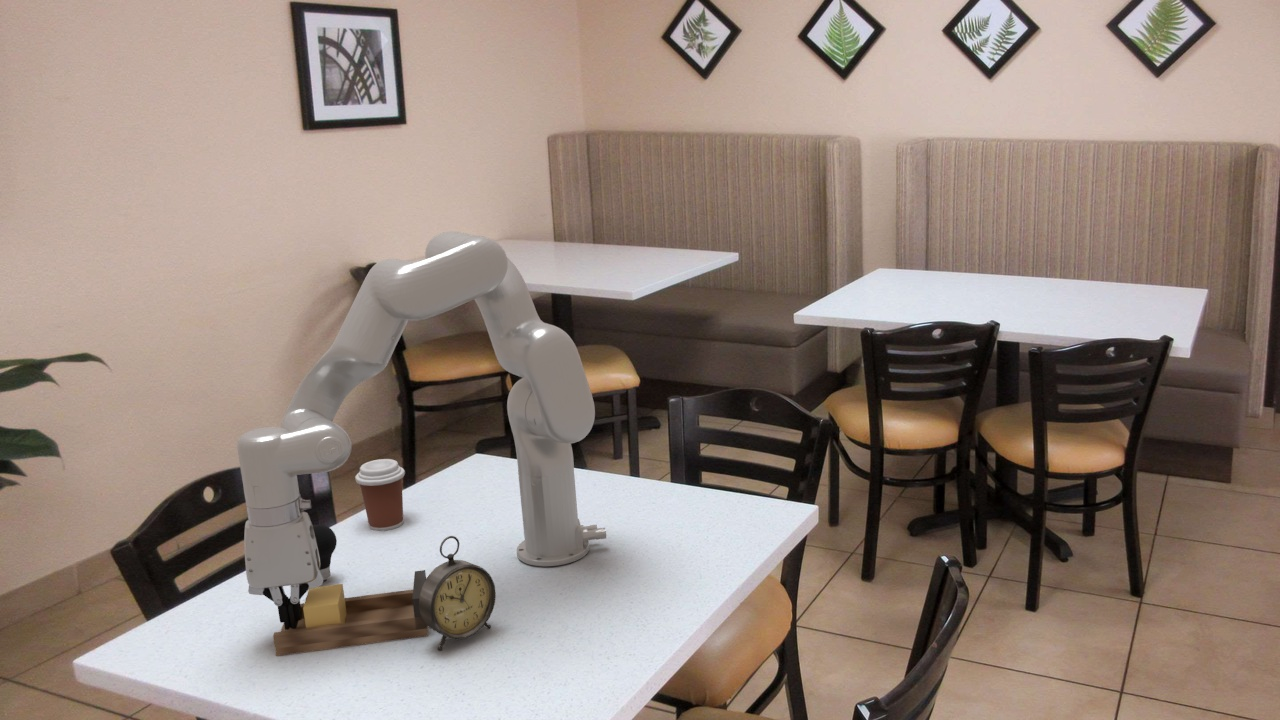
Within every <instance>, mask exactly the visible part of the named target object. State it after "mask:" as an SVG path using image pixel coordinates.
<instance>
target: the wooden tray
mask: <svg viewBox="0 0 1280 720" xmlns="http://www.w3.org/2000/svg"><path fill="white" fill-rule="evenodd" d="M426 578H427V573H426V569H424V570H415V571H414V578H413V585H412V586H413V589H407V590H399V591H391V592H383V593H375V594H368V595H360V596H359V595H358V596H352V597H345V605H346V612H347V615H346V619H345V623H343V624H335V625H327V626H320V627H312V628H306V624H305V618H304V611H303V607H304V604H305V602H304V603H300V605H301V612H302V619H301V620H299V621H298V624H297V628H296V629H292V628H291V627H290V628H289V629H288V630H285V627H284V622H282V623H283V624H282V626H281V630H280V631H276V632H275V631H274V632H273V635H272V638H273V639H272V640H273V643H274V644H273V645H274V652H275V656H276V657H279V656H287V655H294V654H300V653H308V652H317V651H324V650H332V649H340V648H348V647H353V646H360V645H361V646H363V645H368V644H370V645H371V644H376V643H378V644H379V643H384V642H391V641H392V642H393V641H399V640H400V641H401V640H405V639H406V640H407V639H414V638H420V637H428V636H429V627H428V626H427V625H426V623H425V622H424V620H423V618H422V616H421V613H420V609H419V597H420V592H421V589H422V586H423V584H424V582H425V580H426Z"/></svg>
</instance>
